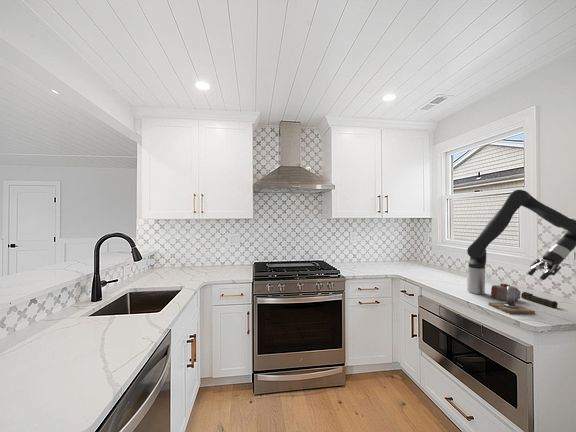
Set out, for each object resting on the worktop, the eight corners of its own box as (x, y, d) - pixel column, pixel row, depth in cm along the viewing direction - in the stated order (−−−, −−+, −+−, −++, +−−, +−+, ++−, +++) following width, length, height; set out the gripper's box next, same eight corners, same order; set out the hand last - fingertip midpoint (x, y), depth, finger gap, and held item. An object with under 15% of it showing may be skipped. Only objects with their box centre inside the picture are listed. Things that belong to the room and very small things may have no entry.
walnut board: (488, 305, 152) (488, 302, 152) (511, 305, 152) (511, 302, 152) (509, 314, 138) (509, 311, 138) (534, 314, 138) (534, 311, 138)
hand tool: (558, 308, 148) (558, 300, 148) (552, 308, 147) (552, 300, 147) (525, 298, 166) (525, 290, 166) (519, 298, 166) (519, 291, 166)
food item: (511, 297, 166) (511, 282, 166) (521, 301, 158) (522, 285, 158) (489, 297, 167) (489, 282, 167) (498, 301, 159) (498, 285, 159)
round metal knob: (501, 304, 148) (501, 285, 148) (511, 304, 148) (511, 285, 148) (510, 308, 142) (510, 288, 142) (520, 308, 142) (520, 288, 142)
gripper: (539, 248, 150) (519, 269, 152) (562, 253, 136) (539, 276, 138) (550, 256, 149) (530, 277, 151) (574, 261, 135) (551, 285, 137)
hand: (535, 276), depth 145 cm, fingers open, 8 cm apart
